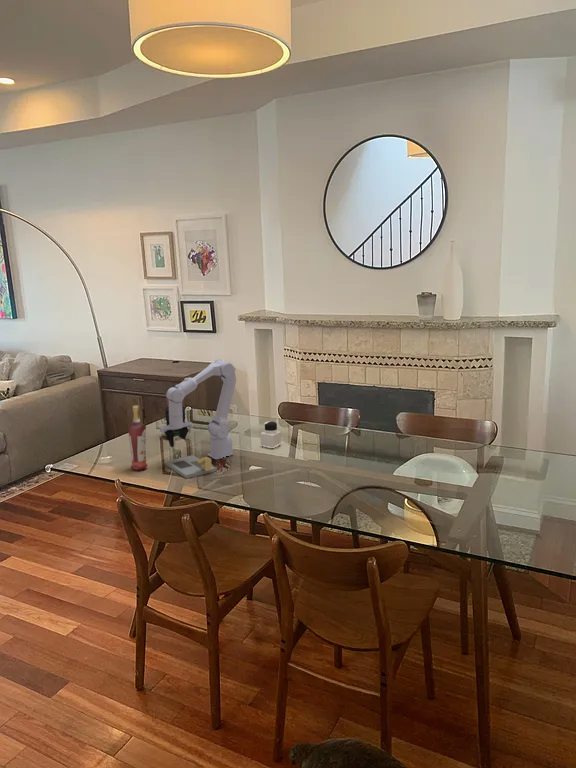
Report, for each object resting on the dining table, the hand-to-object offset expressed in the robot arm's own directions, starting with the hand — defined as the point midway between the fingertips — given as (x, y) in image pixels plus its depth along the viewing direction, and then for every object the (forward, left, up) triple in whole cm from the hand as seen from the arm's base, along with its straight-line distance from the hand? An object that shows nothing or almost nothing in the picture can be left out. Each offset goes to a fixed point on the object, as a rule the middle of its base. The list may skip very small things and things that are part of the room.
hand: (177, 445), depth 258 cm
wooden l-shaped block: (-4, +16, -7) cm, 18 cm away
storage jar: (-17, -36, -9) cm, 41 cm away
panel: (-2, +7, -9) cm, 11 cm away
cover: (0, 0, -1) cm, 1 cm away
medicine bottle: (-47, +4, -9) cm, 48 cm away
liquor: (+16, -5, -9) cm, 19 cm away
